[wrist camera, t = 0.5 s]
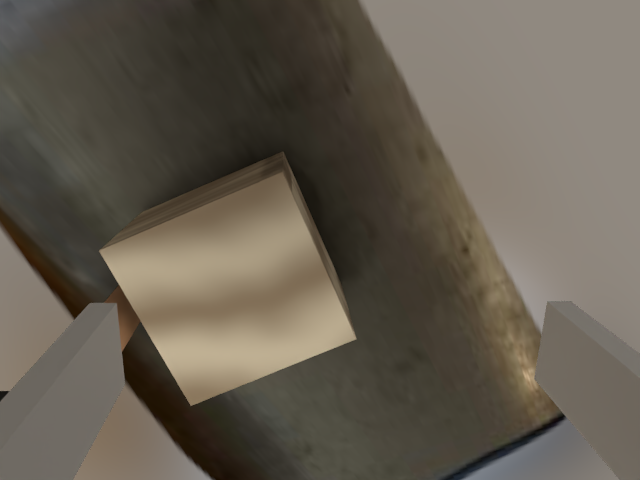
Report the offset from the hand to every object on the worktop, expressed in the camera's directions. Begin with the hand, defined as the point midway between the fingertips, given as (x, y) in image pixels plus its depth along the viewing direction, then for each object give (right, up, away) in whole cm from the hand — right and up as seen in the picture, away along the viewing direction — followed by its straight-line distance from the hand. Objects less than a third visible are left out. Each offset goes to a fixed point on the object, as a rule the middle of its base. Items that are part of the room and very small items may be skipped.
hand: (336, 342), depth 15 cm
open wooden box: (-6, +2, +25) cm, 26 cm away
